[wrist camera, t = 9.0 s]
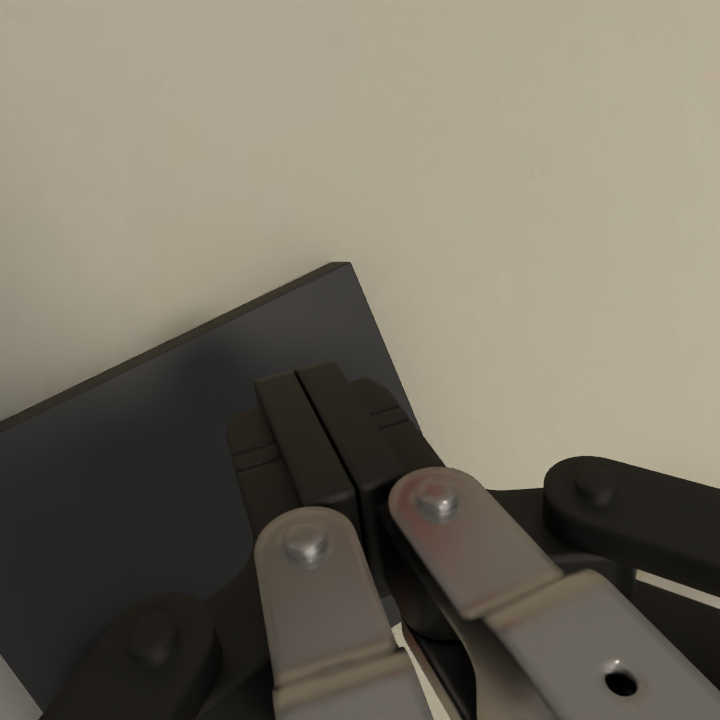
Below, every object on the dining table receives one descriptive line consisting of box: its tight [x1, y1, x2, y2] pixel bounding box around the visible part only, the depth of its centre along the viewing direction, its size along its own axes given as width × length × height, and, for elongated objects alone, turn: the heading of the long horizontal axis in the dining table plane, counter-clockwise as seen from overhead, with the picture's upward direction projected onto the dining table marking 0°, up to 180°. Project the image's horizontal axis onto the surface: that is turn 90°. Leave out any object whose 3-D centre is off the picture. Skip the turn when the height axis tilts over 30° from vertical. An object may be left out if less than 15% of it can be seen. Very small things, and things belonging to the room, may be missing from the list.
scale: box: [0, 262, 423, 713], centre depth 23 cm, size 16×14×4 cm
